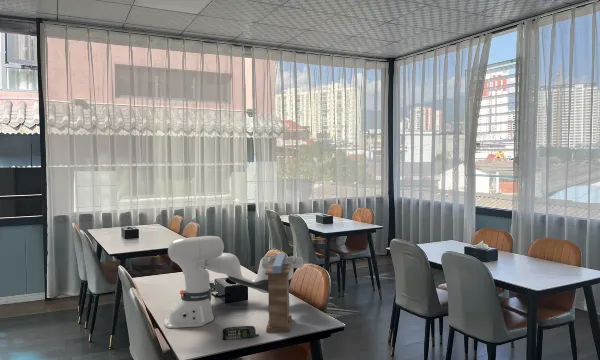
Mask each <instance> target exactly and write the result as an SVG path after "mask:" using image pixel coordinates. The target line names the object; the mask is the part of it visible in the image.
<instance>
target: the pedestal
mask: <svg viewBox="0 0 600 360" xmlns="http://www.w3.org/2000/svg"><path fill="white" fill-rule="evenodd" d="M272 266H273V264H269V266H268V268H267V270H266V272H265V275H268V293H267V294H268V321H267V325H266V328H265V330H266V333H290V331H291V327H292V321H293V315H292V314H290V281H289V271H290V268H291V264H284V265H283V268H282V271H281V273H273V270H272Z"/></svg>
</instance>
